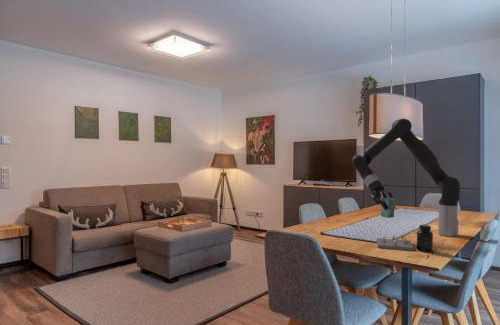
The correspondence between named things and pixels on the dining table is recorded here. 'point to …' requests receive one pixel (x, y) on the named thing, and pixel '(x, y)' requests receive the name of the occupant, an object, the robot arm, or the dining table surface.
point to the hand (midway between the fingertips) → (390, 208)
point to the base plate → (394, 244)
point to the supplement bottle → (424, 239)
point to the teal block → (390, 210)
